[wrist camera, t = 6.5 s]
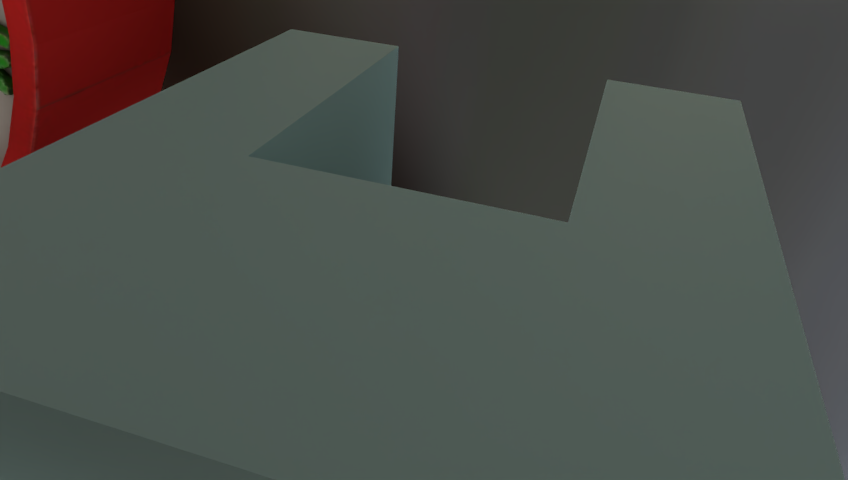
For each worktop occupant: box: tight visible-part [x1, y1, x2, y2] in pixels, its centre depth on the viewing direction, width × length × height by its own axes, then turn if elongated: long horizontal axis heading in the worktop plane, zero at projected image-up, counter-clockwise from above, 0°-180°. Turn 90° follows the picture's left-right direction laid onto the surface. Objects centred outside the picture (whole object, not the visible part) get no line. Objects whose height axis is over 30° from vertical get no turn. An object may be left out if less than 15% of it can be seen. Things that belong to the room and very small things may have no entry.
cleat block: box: [0, 29, 845, 480], centre depth 8 cm, size 7×6×7 cm
